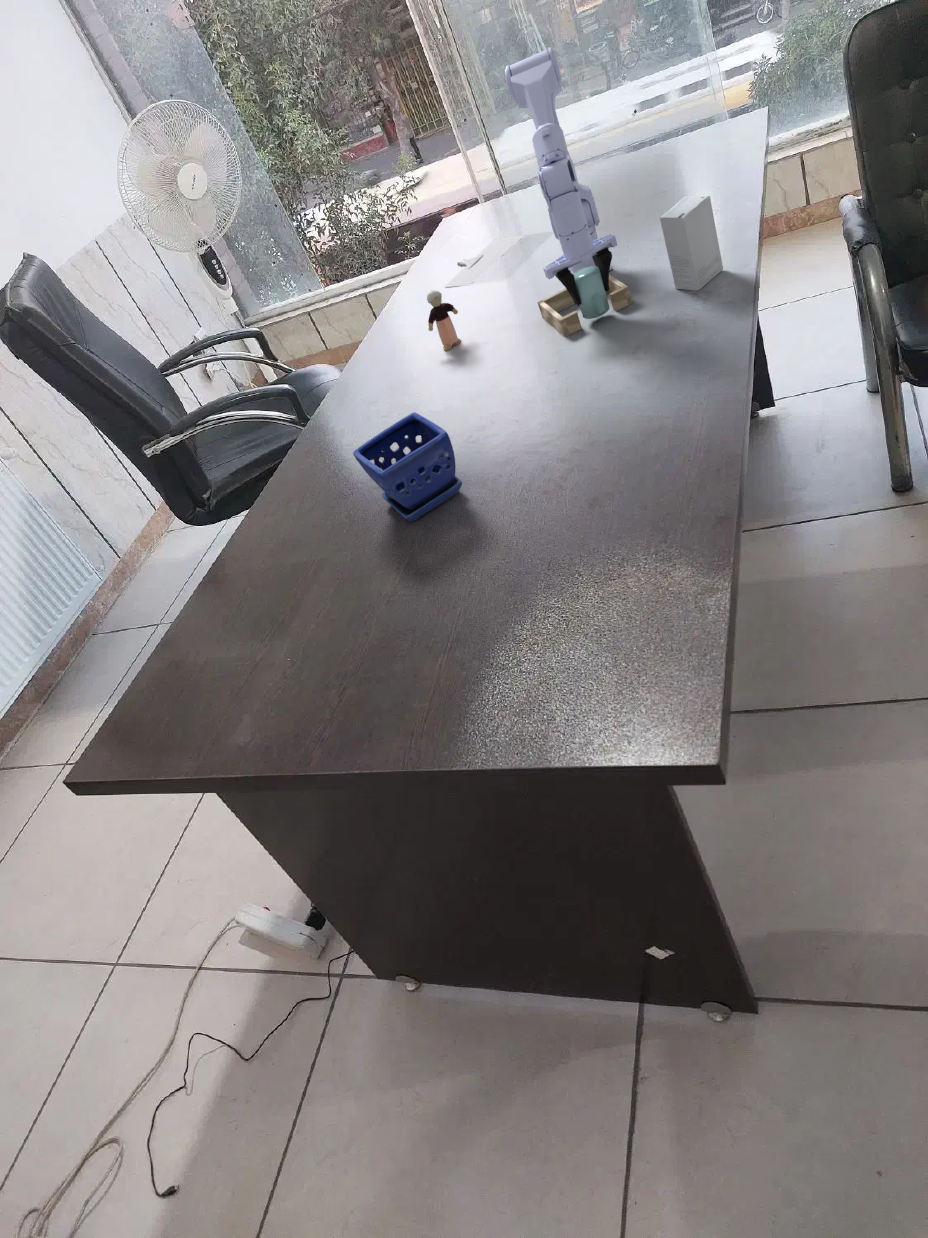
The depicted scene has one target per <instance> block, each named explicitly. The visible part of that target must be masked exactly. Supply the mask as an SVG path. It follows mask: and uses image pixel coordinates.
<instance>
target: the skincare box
mask: <svg viewBox="0 0 928 1238" xmlns="http://www.w3.org/2000/svg"><path fill="white" fill-rule="evenodd" d="M712 206H713V205H712V201H711V195H685V196H684V197H682V198H681V199H680V200H679V201H677V203H675V204H674V205H673V206H672V207H671V208H669V209H667V211H666V212H665V213H663V214H662V215H661V216H660V217H659V221H660V225H661V230H662V234H663V238H664V243H665V247H666V252H667V256H668V261H669V265H670V269H671V274H672V275H671V276H672V280H673V283H674V288H675V289H677V290H685V291H686V290H687V291H693V292H695V291H696V292H699V291H700V290H701V289H702V288H703V287H704V286H706V285H707V284H708V283H709V282H710V281H711V280H712V279H713V278H715V277H716V276H717V275H718V274H719V273H721V272H722V270H724V264H723V259H722V254H721V250H720V249H721V248H720V244H719V238H718V233H717V227H716V223H715V221H716V220H715V217H714V213H713V212H714V211H713V207H712Z"/></svg>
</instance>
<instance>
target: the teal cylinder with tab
mask: <svg viewBox="0 0 928 1238" xmlns="http://www.w3.org/2000/svg"><path fill="white" fill-rule="evenodd" d="M573 275H574V278H575V284H576V288H577V292H578V295H579V297H580V301H581V305H579V306H578V307H579V308H580V312H581V315H582V318H583V319H586V320H591V319H597V318H599V317H601V316H603V315H605V314H606V313H607V312H608V311H609V310H610V307H611V306H610V303H609V299H608V295H607V292H606V291H605V288H604V285H603V281H602V277H601V274H600V270H599V267H597V266H591V267H586V268H583V269H581V270H579V271H577V272H576V273H574V274H573Z"/></svg>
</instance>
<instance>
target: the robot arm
mask: <svg viewBox="0 0 928 1238" xmlns="http://www.w3.org/2000/svg"><path fill="white" fill-rule="evenodd" d="M504 75H505V80H506V84H507V86H508V89H509V93H510V96H511V98H512V101H513V102H514V103H515V105H516V106H517V107H518V108H519V109H528V110H529V112H530V115H531V118H532V121H533V124H534V127H535V129H536V131H535V132H534V134H533V135H532V139H531V140H532V145H533V149H534V153H535V158H536V162H537V165H538V172H537V178H538V182H539V183H538V184H539V187H540V190H541V194H542V196H543V198H544V200H545V202H546V204H547V205H546V206H547V211H548V217H549V221H550V224H551V225H550V226H551V228H552V232H553V234H554V237H555V239H557V240H559V244H560V247H561V250H562V255H560V256H559V257H557V258H556V259H554V260H553V261H552V262H550V263H549V264H547V265H545V266H543V272H544V275H545V276H544V277H545V278H546V279H548V280H551V279H553V278H554V277H555V278H556V279H558V280H559V282H560V283H561V284H562V285H563V286H564V289H565V288H566V289H567V291H568V292H569V294H570V295H571V297H572V299H573V301H574V303H575V305H576V306H578V307H580V306H579V305H581V301H580V297H579V295H578V292H577V288H576V284H575V278H574V275H573V274H574V273H576V272H577V271H579V270H581V269H583V268H586V267H591V266H597V267H599V270H600V274H601V277H602V281H603V285H604V288H605V292H606V293H608V292H607V291H609V275H610V271H611V270H613V268H614V267H613V265H611V264H612V259H613V253H612V251H611V250H610V248H615V247H617V246H618V241H617V237H616V235H615V234H613V233H609V234H607V235H604V236H603V237H598V233H597V228H596V227H598V226H599V224H600V222H601V220H600V217H599V212H598V207H597V206H596V201H595V197H594V196H593V192H592V189H591V188H590V186H589V185H586V184H583V183H580V182H579V179H578V175H577V172H576V168H575V166H574V161H573V159H572V158H571V156H570V152H569V151H568V146H567V143H566V139H565V138H566V137H565V135H564V130H563V129H562V127H561V126H560V122H559V118H558V114H557V111H556V106H555V105H556V97H557V96H558V95H559V94H560V93H561V92H562V91H563V86H564V85H563V81H562V80H563V79H562V75H561V70H560V66H559V63H558V59H557V55H556V52H555V49H554V48H552V46H551V47H549V46H548V47H547V49H545V50H542V51H540V52H538V53H535V54H533V55H530V56H528V57H526V58H524V59H522V60H519V61H517V62H515V63H513V64H510V65H506V66H505V70H504Z"/></svg>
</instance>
